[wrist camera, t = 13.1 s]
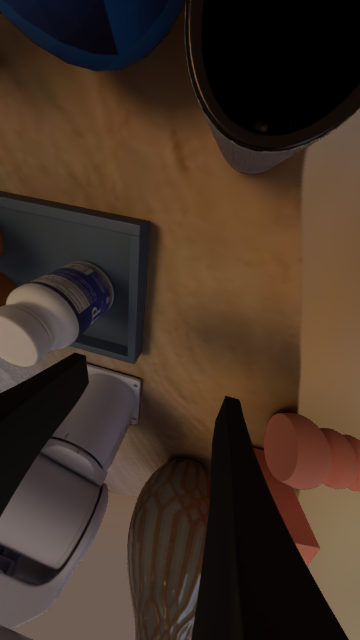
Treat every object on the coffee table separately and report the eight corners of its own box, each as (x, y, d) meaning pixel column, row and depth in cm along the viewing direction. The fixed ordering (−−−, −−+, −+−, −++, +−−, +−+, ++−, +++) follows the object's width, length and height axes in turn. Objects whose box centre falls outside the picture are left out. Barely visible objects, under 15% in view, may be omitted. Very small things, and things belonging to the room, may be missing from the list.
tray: (142, 351, 24) (134, 364, 22) (-17, 308, 27) (-35, 316, 25) (150, 221, 17) (140, 225, 15) (-71, 176, 19) (-102, 175, 17)
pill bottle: (97, 320, 23) (28, 385, 15) (55, 283, 21) (-42, 334, 14) (126, 291, 20) (60, 352, 12) (81, 247, 19) (-22, 286, 11)
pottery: (223, 494, 30) (288, 508, 31) (239, 596, 21) (331, 613, 22) (272, 388, 25) (350, 407, 26) (321, 464, 16) (439, 491, 17)
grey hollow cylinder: (203, 138, 14) (143, 52, 5) (262, 46, 11) (342, -426, 3) (254, 191, 14) (278, 196, 6) (319, 116, 12) (527, -67, 3)
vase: (135, 452, 36) (66, 629, 22) (199, 439, 30) (162, 674, 16) (181, 492, 40) (149, 665, 26) (246, 488, 34) (252, 712, 19)
